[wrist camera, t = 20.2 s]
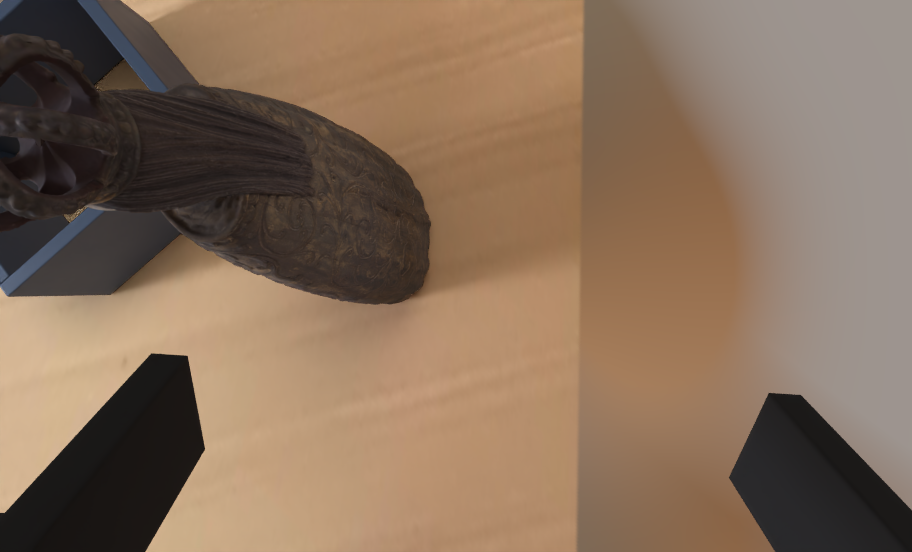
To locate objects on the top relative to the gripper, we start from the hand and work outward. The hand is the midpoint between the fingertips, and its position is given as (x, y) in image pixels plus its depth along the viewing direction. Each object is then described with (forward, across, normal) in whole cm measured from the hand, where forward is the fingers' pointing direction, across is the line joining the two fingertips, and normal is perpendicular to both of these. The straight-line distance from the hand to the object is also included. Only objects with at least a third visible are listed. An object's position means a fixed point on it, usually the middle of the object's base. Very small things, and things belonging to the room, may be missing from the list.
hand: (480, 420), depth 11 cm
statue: (+21, -5, -4) cm, 22 cm away
